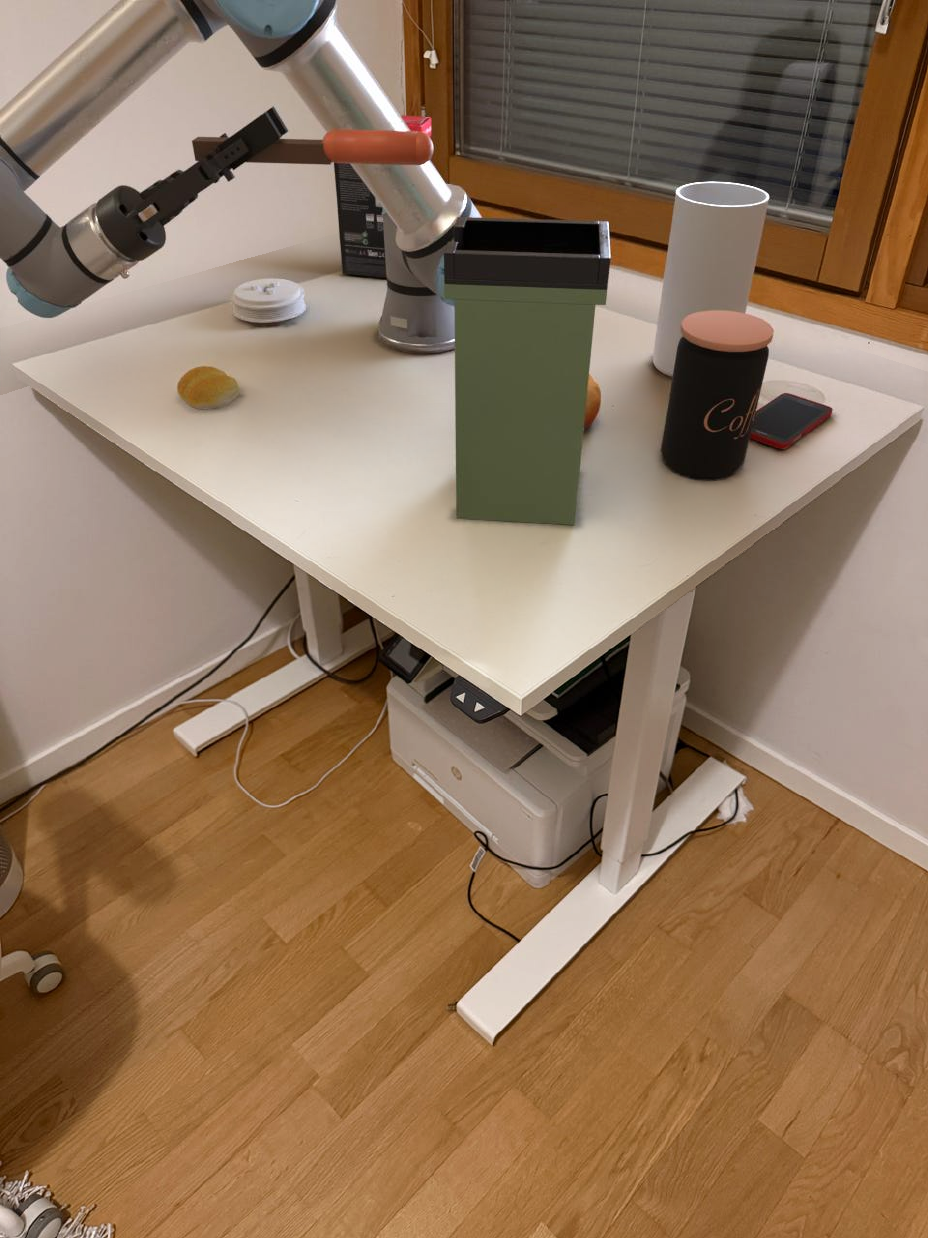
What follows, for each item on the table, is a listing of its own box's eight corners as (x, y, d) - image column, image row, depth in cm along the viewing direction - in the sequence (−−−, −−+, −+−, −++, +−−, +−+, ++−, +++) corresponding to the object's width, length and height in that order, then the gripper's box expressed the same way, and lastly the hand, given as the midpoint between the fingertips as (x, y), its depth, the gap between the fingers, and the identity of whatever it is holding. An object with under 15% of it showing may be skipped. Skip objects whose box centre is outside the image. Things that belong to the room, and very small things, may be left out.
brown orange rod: (193, 162, 95) (187, 128, 93) (203, 155, 97) (197, 122, 95) (431, 168, 93) (431, 134, 91) (435, 161, 95) (435, 128, 93)
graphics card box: (436, 272, 170) (433, 112, 153) (427, 284, 165) (422, 120, 148) (352, 265, 173) (340, 108, 156) (340, 277, 168) (326, 115, 151)
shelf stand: (447, 518, 104) (444, 283, 87) (458, 466, 114) (457, 245, 96) (583, 526, 103) (607, 289, 85) (583, 473, 112) (605, 250, 95)
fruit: (608, 399, 125) (606, 364, 118) (595, 446, 123) (593, 414, 115) (553, 391, 127) (548, 356, 120) (539, 437, 125) (533, 405, 117)
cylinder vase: (700, 391, 130) (733, 212, 114) (635, 364, 138) (657, 192, 122) (749, 367, 137) (787, 194, 121) (685, 343, 144) (712, 177, 128)
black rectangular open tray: (444, 283, 87) (443, 252, 85) (457, 245, 96) (457, 216, 94) (607, 289, 85) (610, 258, 84) (605, 250, 95) (608, 221, 93)
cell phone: (833, 414, 124) (835, 407, 124) (783, 451, 116) (785, 445, 116) (783, 397, 128) (784, 391, 128) (731, 432, 120) (733, 426, 120)
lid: (225, 308, 156) (220, 279, 153) (293, 296, 160) (289, 268, 157) (245, 333, 147) (240, 303, 144) (316, 320, 152) (313, 290, 149)
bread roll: (200, 416, 124) (195, 390, 122) (171, 395, 130) (165, 369, 127) (252, 399, 128) (247, 373, 126) (221, 379, 134) (217, 354, 131)
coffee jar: (694, 491, 109) (721, 351, 97) (642, 453, 116) (662, 319, 105) (760, 470, 113) (794, 334, 101) (706, 435, 120) (732, 303, 108)
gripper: (164, 241, 110) (314, 140, 101) (115, 283, 98) (279, 173, 89) (122, 184, 106) (274, 73, 97) (66, 220, 95) (232, 99, 85)
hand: (276, 121), depth 93 cm, fingers closed on brown orange rod, 2 cm apart
